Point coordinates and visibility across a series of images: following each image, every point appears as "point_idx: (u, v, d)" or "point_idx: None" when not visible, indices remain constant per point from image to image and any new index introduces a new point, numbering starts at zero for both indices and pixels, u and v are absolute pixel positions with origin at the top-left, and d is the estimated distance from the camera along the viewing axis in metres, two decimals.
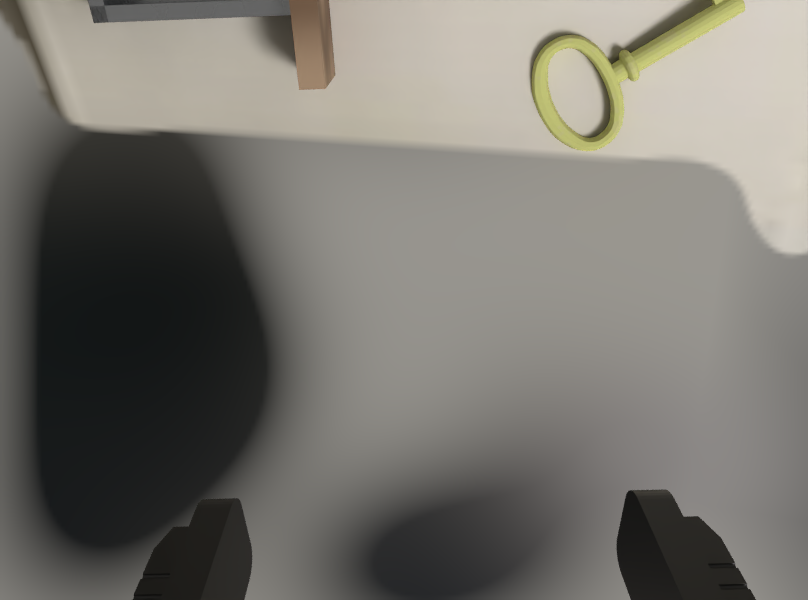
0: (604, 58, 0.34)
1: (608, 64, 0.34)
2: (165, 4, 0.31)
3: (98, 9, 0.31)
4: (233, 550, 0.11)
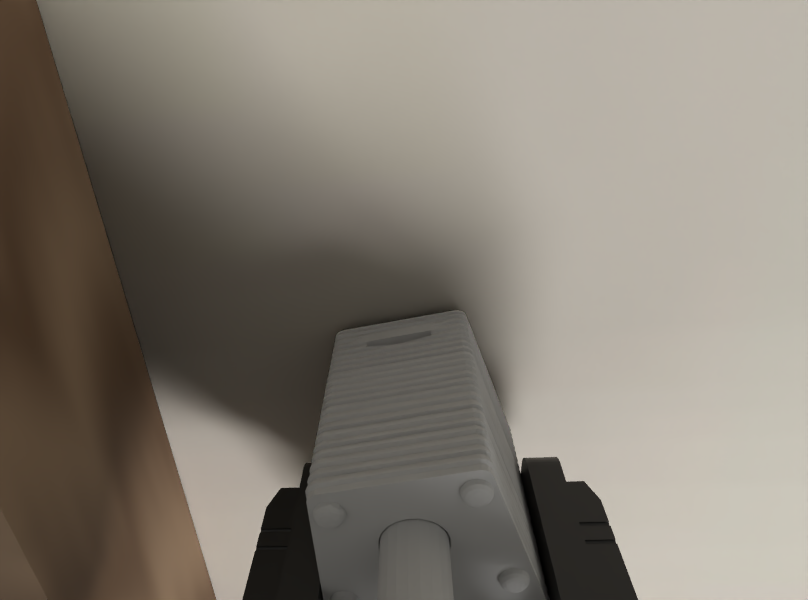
0: None
1: None
2: None
3: None
4: None
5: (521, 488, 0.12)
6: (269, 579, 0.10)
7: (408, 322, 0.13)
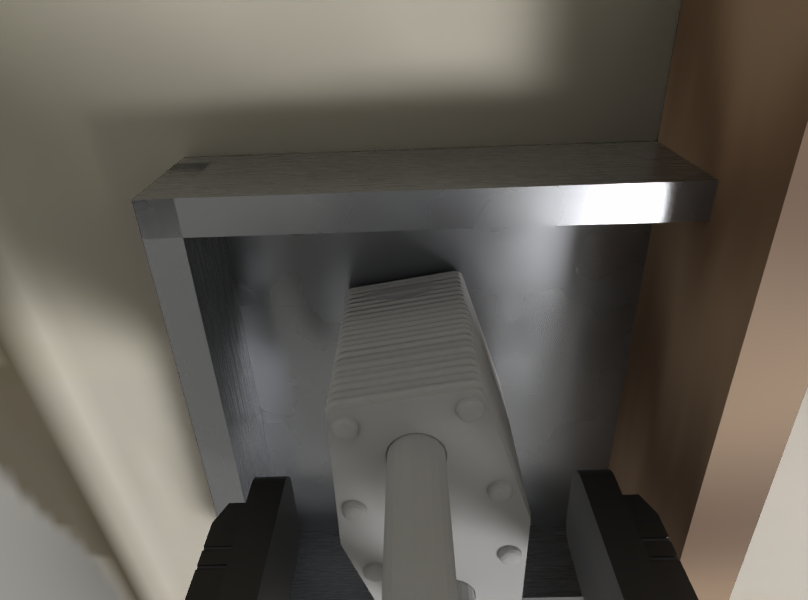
0: None
1: None
2: None
3: None
4: (286, 525, 0.12)
5: (508, 426, 0.14)
6: None
7: (411, 281, 0.14)
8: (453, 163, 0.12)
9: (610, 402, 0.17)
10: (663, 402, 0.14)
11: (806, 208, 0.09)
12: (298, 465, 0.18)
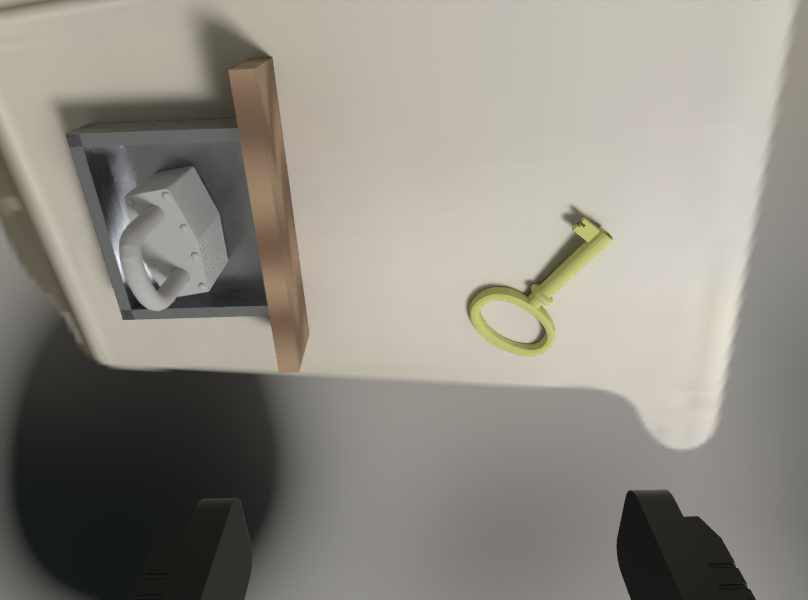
0: (519, 299, 0.43)
1: (524, 301, 0.43)
2: (177, 308, 0.41)
3: (126, 311, 0.41)
4: (233, 551, 0.11)
5: (205, 220, 0.38)
6: None
7: (175, 169, 0.38)
8: (177, 124, 0.37)
9: None
10: None
11: (244, 132, 0.33)
12: None
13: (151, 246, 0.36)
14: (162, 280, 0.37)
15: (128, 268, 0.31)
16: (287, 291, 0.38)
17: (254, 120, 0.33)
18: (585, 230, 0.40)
